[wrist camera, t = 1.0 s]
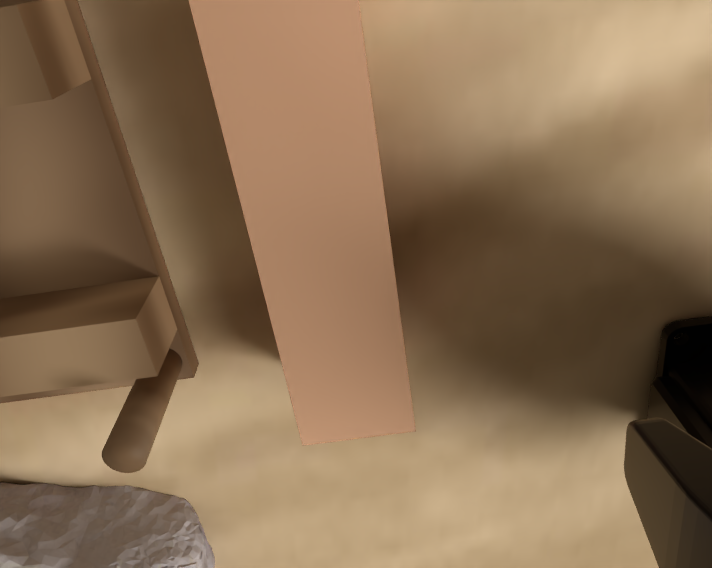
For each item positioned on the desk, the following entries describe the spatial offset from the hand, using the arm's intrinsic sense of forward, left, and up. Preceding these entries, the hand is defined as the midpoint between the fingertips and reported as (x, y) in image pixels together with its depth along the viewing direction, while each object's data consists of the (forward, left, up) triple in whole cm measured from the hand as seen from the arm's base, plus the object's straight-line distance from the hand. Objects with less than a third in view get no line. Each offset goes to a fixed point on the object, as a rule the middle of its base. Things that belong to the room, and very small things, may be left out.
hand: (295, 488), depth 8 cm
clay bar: (0, 0, -12) cm, 12 cm away
